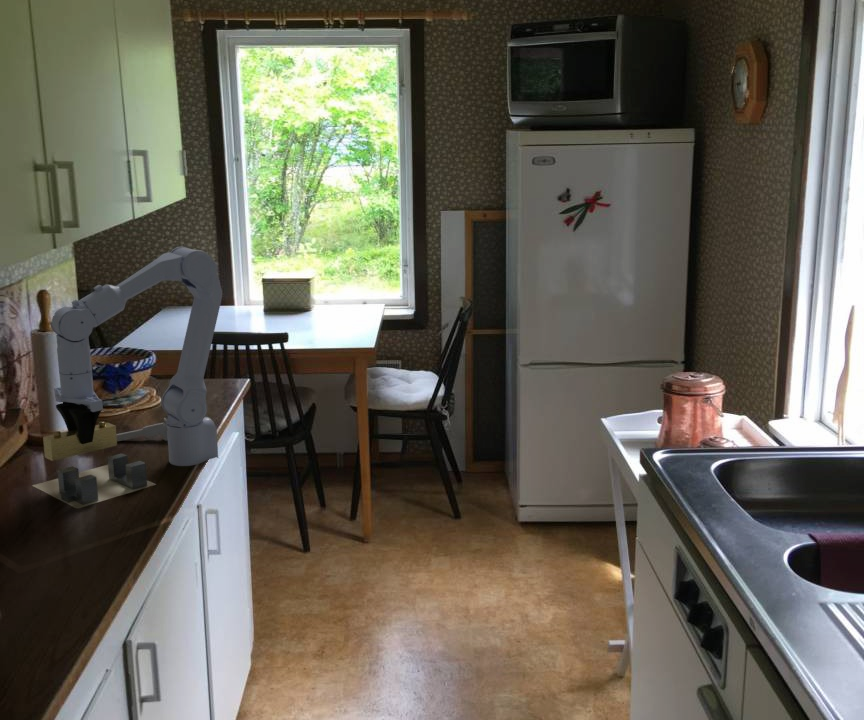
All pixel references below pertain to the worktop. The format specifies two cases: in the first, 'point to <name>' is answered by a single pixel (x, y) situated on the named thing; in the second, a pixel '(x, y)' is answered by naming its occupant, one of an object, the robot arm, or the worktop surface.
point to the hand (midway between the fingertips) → (81, 440)
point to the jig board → (104, 487)
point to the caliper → (146, 432)
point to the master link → (78, 442)
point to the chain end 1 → (77, 486)
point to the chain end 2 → (127, 471)
